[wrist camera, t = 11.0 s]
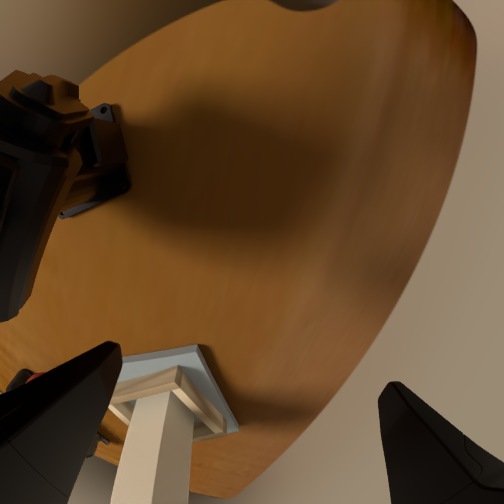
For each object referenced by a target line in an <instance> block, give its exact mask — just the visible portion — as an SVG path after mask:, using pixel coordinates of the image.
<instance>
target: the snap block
mask: <svg viewBox="0 0 504 504" xmlns="http://www.w3.org/2000/svg"><path fill="white" fill-rule="evenodd" d="M194 415H195V414H194V413H193V412H192V411H191V410H190V409H189V408H188V407H187V406H186V405H185V404H184V403H183V402H182V401H181V400H180V399H179V398H178V397H177V395H176V394H175V393H174V392H173V391H168V392H164V393H160V394H156V395H152V396H148V397H144V398H140V399H137V401H136V404H135V408H134V411H133V414H132V418H131V421H130V425H129V428H128V432H127V436H126V439H125V443H124V447H123V451H122V454H121V458H120V462H119V466H118V471H117V475H116V479H115V484H114V488H113V492H112V497H111V502H110V504H188V496H189V478H190V463H191V450H192V437H193V426H194Z"/></svg>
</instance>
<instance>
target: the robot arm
mask: <svg viewBox="0 0 504 504" xmlns="http://www.w3.org/2000/svg"><path fill="white" fill-rule="evenodd" d="M80 101H81V100H79V86H78V85H76V84H75V83H73V82H72V81H69V80H67V79H64V78H61V77H59V76H56V75H48V76H45V77H42V76H40V75H38V74H36V73H32V74H27V73H24V72H22V71H19V70H15V71H13V72H12V73H11V74H9V75H8V76H6V77H5V78H4V79H3V80H1V81H0V322H5V321H8V320H10V319H12V318H13V317H15V316H17V315H18V314H19V309H21V308H22V307H23V305H24V304H25V303H26V301H27V300H28V298H29V297H30V296H31V292H32V289H33V285H34V282H35V278H36V275H37V271H38V268H39V265H40V262H41V259H42V256H43V253H44V250H45V247H46V245H47V242H48V239H49V236H50V234H51V231H52V229H53V226H54V224H55V221H56V219H57V217H58V216H59V218H61V219H65V218H67V217H69V216H71V215H73V214H76V213H78V212H80V211H82V210H85V209H87V208H89V207H92V206H94V205H96V204H99V203H101V202H104V201H106V200H109V199H111V198H114V197H116V196H119V195H121V194H124V193H126V192H128V191H130V189H131V186H132V184H131V180H130V176H129V173H128V170H127V166H126V162H127V159H128V156H127V153H126V149H125V145H124V141H123V137H122V133H121V129H120V125H119V124H117V123H115V118H114V114H113V109H112V106H111V105H109V104H107V103H104V104H101V105H99V106H97V107H95V108H93V109H91V110H89V109H88V108H87V107H86V106H85V105H83V104H82V103H81V102H80ZM104 108H107V111H106V113H104V114H103V110H104ZM123 182H124V183H125V184H126V188H125V189H123V188H122V183H123ZM63 211H65V214H63ZM122 366H123V360H122V353H121V347H120V345H119V344H118V343H115V342H112V341H106V342H104V343H102V344H100V345H98V346H96V347H94V348H92V349H90V350H89V351H87V352H85V353H83V354H81V355H79V356H77V357H75V358H73V359H71V360H69V361H67V362H65V363H63V364H61V365H59V366H57V367H56V368H54V369H52V370H50V371H48V372H46V373H44V374H42V375H40V376H38V377H36V378H34V379H32V380H30V381H28V382H26V384H25V383H24V384H22V385H20V386H18V387H16V388H14V389H12V390H9V391H7V392H5V393H3V394H0V504H67V503H68V500H69V497H70V495H71V492H72V489H73V487H74V484H75V482H76V479H77V476H78V474H79V472H80V469H81V467H82V465H83V462H84V460H85V458H86V455H87V453H88V451H89V448H90V446H91V444H92V441H93V439H94V437H95V435H96V433H97V430H98V428H99V426H100V424H101V422H102V420H103V417H104V415H105V413H106V411H107V409H108V407H109V404H110V401H111V399H112V396H113V393H114V390H115V387H116V384H117V381H118V378H119V375H120V373H121V370H122ZM378 409H379V419H380V431H381V439H382V445H383V451H384V456H385V462H386V469H387V475H388V482H389V489H390V497H391V504H504V463H503V462H502V461H501V460H499V459H498V458H496V457H494V456H493V455H492V454H490V453H489V452H487V451H486V450H484V449H483V448H481V447H480V446H478V445H477V444H476V443H474V442H473V441H472V440H471V439H469V438H468V437H467V436H466V435H463V433H462V432H461V431H459V430H458V429H457V428H456V427H455V426H453V425H452V424H451V423H450V422H449V421H447V420H446V419H445V418H443V417H442V416H441V415H440V414H439V413H438V412H436V411H435V410H434V409H433V408H431V407H430V406H429V405H428V404H427V403H425V402H424V401H423V400H422V399H420V398H419V397H418V396H417V395H416V394H414V393H413V392H412V391H411V390H410V389H408V388H407V387H406V386H405V385H404V384H402V383H401V382H399V381H393V382H389V383H388V384H387V385H386V387H385V388H384V390H383V391H382V393H381V395H380V396H379V398H378Z"/></svg>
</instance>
